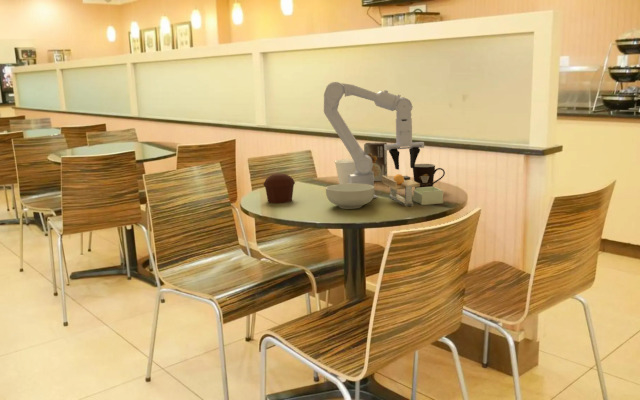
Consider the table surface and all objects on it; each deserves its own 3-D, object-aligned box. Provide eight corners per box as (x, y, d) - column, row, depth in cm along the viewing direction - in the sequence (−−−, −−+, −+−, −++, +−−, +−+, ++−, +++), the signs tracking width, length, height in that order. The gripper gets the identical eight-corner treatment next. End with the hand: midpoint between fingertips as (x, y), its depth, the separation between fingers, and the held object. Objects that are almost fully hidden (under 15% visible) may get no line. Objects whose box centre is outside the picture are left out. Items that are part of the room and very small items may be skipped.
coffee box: (388, 179, 255) (387, 142, 252) (385, 181, 249) (384, 144, 246) (367, 178, 258) (366, 142, 254) (364, 181, 252) (363, 144, 248)
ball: (396, 186, 201) (394, 176, 200) (392, 184, 204) (391, 174, 203) (406, 184, 201) (404, 174, 200) (402, 182, 205) (401, 172, 204)
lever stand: (404, 206, 200) (404, 186, 198) (389, 197, 216) (389, 178, 215) (413, 205, 200) (413, 185, 199) (397, 196, 217) (396, 178, 215)
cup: (359, 185, 243) (359, 158, 241) (359, 189, 233) (358, 162, 231) (336, 185, 244) (335, 159, 242) (334, 189, 234) (333, 162, 232)
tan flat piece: (395, 189, 199) (394, 181, 199) (382, 183, 213) (381, 175, 212) (419, 186, 201) (419, 178, 200) (406, 179, 214) (405, 172, 214)
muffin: (267, 205, 210) (265, 177, 208) (261, 199, 220) (260, 173, 218) (299, 202, 213) (298, 175, 211) (292, 196, 223) (291, 170, 221)
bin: (422, 204, 201) (422, 192, 200) (413, 200, 209) (413, 187, 208) (443, 203, 203) (443, 190, 202) (433, 198, 211) (433, 186, 210)
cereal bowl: (384, 205, 202) (384, 185, 201) (352, 214, 191) (351, 193, 190) (348, 199, 214) (348, 180, 213) (316, 207, 203) (315, 187, 202)
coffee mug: (409, 192, 224) (409, 166, 222) (416, 188, 231) (416, 163, 229) (438, 194, 218) (439, 167, 216) (445, 190, 226) (445, 164, 224)
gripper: (388, 133, 207) (389, 171, 209) (427, 130, 209) (427, 168, 212) (382, 132, 213) (383, 169, 216) (419, 129, 216) (420, 165, 219)
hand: (404, 168), depth 214 cm, fingers open, 5 cm apart
